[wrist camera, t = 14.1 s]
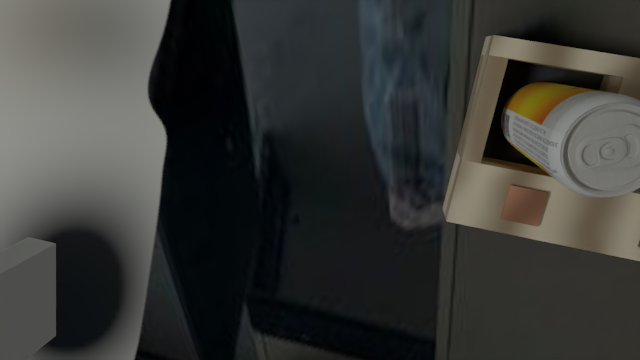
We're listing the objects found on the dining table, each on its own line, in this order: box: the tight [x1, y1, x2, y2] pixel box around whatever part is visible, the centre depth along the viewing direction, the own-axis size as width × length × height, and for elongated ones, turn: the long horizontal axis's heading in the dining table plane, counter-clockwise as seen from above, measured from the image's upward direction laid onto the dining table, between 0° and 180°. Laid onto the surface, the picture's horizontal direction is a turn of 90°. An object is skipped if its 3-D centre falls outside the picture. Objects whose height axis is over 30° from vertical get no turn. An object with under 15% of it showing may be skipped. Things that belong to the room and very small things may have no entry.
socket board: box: [443, 35, 640, 261], centre depth 38 cm, size 22×16×4 cm
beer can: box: [501, 82, 640, 198], centre depth 33 cm, size 6×6×15 cm
